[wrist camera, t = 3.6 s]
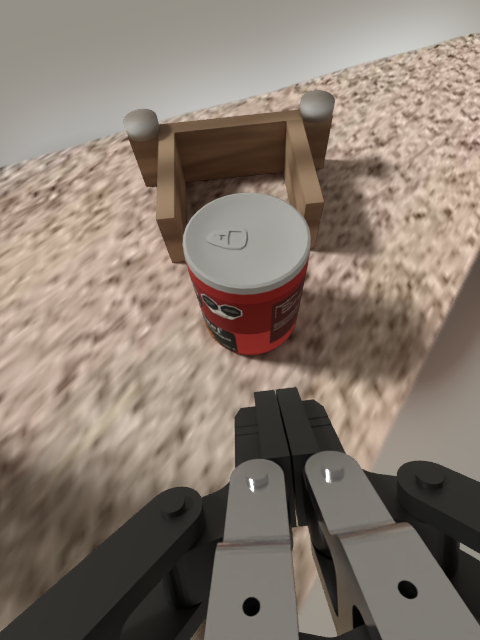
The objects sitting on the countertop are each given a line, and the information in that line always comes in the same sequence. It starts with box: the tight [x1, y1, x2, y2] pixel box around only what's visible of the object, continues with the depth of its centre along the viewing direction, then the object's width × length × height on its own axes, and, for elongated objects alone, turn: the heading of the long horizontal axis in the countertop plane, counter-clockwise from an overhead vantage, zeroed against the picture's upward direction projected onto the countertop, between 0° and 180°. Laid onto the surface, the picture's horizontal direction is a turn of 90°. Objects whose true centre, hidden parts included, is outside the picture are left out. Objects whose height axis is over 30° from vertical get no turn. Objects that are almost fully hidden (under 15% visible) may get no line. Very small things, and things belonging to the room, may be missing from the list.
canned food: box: [183, 193, 311, 355], centre depth 26 cm, size 8×8×11 cm
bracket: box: [123, 90, 335, 263], centre depth 34 cm, size 13×20×7 cm, turn 95°
